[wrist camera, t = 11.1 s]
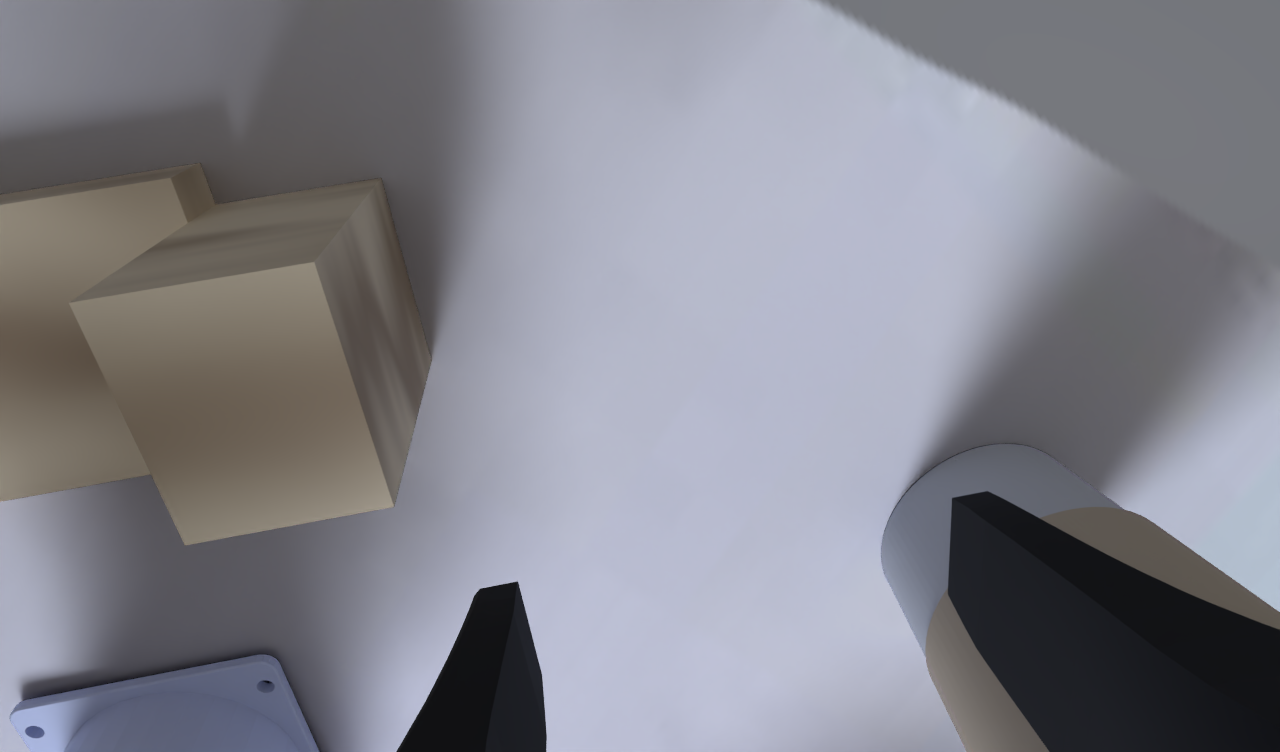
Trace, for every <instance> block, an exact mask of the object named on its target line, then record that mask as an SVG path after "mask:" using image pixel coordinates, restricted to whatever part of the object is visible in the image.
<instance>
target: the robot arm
mask: <svg viewBox="0 0 1280 752" xmlns="http://www.w3.org/2000/svg"><path fill="white" fill-rule="evenodd" d="M948 596H949V598H950V600H951V602H952V604H953V606H954V608H955V609H956V611H957V613H958V615H959V617H960V619H961V621H962V623H963V625H964V627H965V629H966V630H967V632H968V634H969V636H970V638H971V640H972V641H973V643H974V645H975V647H976V649H977V650H978V652H979V653H980V654H981V656H982V657H983V659H984V660H985V662H986V663H987V665H988V666H989V667H990V669H991V670H992V672H993V673H994V675H995V676H996V677H997V679H998V680H999V682H1000V683H1001V685H1002V686H1003V687H1004V689H1005V690H1006V692H1007V693H1008V694H1009V696H1010V697H1011V699H1012V700H1013V701H1014V703H1015V704H1016V706H1017V707H1018V708H1019V710H1020V711H1021V713H1022V714H1023V715H1024V717H1025V718H1026V720H1027V721H1028V722H1029V724H1030V725H1031V727H1032V728H1033V729H1034V731H1035V732H1036V734H1037V735H1038V736H1039V738H1040V739H1041V741H1042V742H1043V743H1044V745H1045V746H1046V748H1047V749H1048V750H1049V752H1280V629H1277V628H1274V627H1271V626H1268V625H1266V624H1263V623H1260V622H1258V621H1255V620H1253V619H1250V618H1248V617H1245V616H1243V615H1240V614H1237V613H1235V612H1232V611H1230V610H1227V609H1225V608H1222V607H1220V606H1217V605H1215V604H1212V603H1210V602H1207V601H1205V600H1203V599H1200V598H1198V597H1196V596H1193V595H1191V594H1189V593H1187V592H1184V591H1182V590H1180V589H1178V588H1176V587H1173V586H1171V585H1169V584H1167V583H1165V582H1163V581H1161V580H1158V579H1156V578H1154V577H1152V576H1150V575H1148V574H1146V573H1143V572H1141V571H1139V570H1137V569H1135V568H1133V567H1131V566H1129V565H1127V564H1125V563H1123V562H1121V561H1119V560H1117V559H1115V558H1113V557H1111V556H1109V555H1107V554H1105V553H1103V552H1102V551H1100V550H1098V549H1096V548H1094V547H1092V546H1090V545H1088V544H1086V543H1084V542H1083V541H1081V540H1079V539H1077V538H1075V537H1073V536H1071V535H1069V534H1068V533H1066V532H1064V531H1062V530H1060V529H1058V528H1057V527H1055V526H1053V525H1051V524H1049V523H1047V522H1046V521H1044V520H1042V519H1040V518H1038V517H1036V516H1035V515H1033V514H1031V513H1029V512H1027V511H1025V510H1024V509H1022V508H1020V507H1018V506H1016V505H1014V504H1012V503H1011V502H1009V501H1007V500H1005V499H1003V498H1001V497H999V496H997V495H995V494H993V493H991V492H989V491H985V492H980V493H974V494H969V495H964V496H959V497H954V498H952V509H951V531H950V553H949V575H948ZM263 680H268V681H270V682H272V683H266V682H263ZM10 721H11V723H12V725H13V726H14V727H15V729H16V730H17V732H18V733H19V735H20V736H21V738H22V739H23V741H24V742H25V744H26V745H27V747H28V748H29V750H30V751H31V752H319V750H318V747H317V745H316V743H315V741H314V739H313V736H312V734H311V732H310V730H309V727H308V725H307V723H306V721H305V719H304V716H303V714H302V712H301V710H300V707H299V705H298V703H297V701H296V699H295V696H294V694H293V692H292V690H291V687H290V685H289V683H288V681H287V679H286V676H285V674H284V672H283V670H282V667H281V665H280V663H279V662H278V661H277V659H275V658H274V657H272V656H269V655H265V654H264V655H254V656H249V657H244V658H239V659H234V660H229V661H223V662H218V663H213V664H208V665H203V666H198V667H193V668H187V669H182V670H177V671H172V672H167V673H162V674H157V675H151V676H146V677H141V678H136V679H131V680H126V681H121V682H116V683H110V684H105V685H100V686H95V687H90V688H85V689H80V690H74V691H69V692H64V693H59V694H54V695H49V696H44V697H38V698H33V699H28V700H24V701H22V702H20V703H19V704H17V705H16V707H15V708H14V710H13V711H12V712H11V714H10ZM37 726H38V727H37ZM40 727H41V728H40ZM397 752H546V722H545V708H544V695H543V682H542V674H541V670H540V666H539V662H538V658H537V654H536V650H535V646H534V642H533V639H532V635H531V631H530V627H529V623H528V619H527V615H526V611H525V607H524V604H523V600H522V596H521V592H520V588H519V584H518V582H513V583H508V584H503V585H497V586H492V587H487V588H482V589H480V590H479V591H478V592H477V593H476V595H475V596H474V598H473V601H472V604H471V606H470V609H469V611H468V614H467V616H466V618H465V621H464V623H463V626H462V628H461V630H460V632H459V635H458V637H457V639H456V641H455V643H454V646H453V648H452V650H451V652H450V654H449V656H448V658H447V660H446V662H445V664H444V666H443V668H442V670H441V672H440V674H439V676H438V678H437V680H436V682H435V684H434V686H433V688H432V690H431V692H430V694H429V696H428V698H427V700H426V702H425V703H424V705H423V707H422V709H421V710H420V712H419V714H418V716H417V717H416V719H415V721H414V723H413V724H412V726H411V728H410V729H409V731H408V733H407V735H406V736H405V738H404V740H403V742H402V743H401V745H400V747H399V748H398V750H397Z"/></svg>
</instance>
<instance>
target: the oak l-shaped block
mask: <svg viewBox="0 0 1280 752" xmlns="http://www.w3.org/2000/svg"><path fill="white" fill-rule="evenodd" d="M431 361H432V360H431V357H430V353H429V350H428V346H427V342H426V339H425V335H424V331H423V328H422V324H421V320H420V317H419V313H418V310H417V306H416V302H415V299H414V295H413V291H412V288H411V284H410V280H409V277H408V273H407V270H406V266H405V262H404V259H403V255H402V251H401V248H400V244H399V240H398V237H397V233H396V229H395V226H394V222H393V219H392V215H391V211H390V208H389V204H388V200H387V197H386V193H385V189H384V186H383V182H382V179H381V178H376V179H370V180H364V181H358V182H351V183H345V184H339V185H333V186H327V187H320V188H314V189H308V190H302V191H296V192H289V193H283V194H277V195H271V196H265V197H258V198H252V199H246V200H240V201H234V202H227V203H221V204H215V201H214V199H213V196H212V193H211V191H210V188H209V185H208V183H207V180H206V177H205V175H204V172H203V169H202V166H201V164H200V163H196V164H190V165H183V166H177V167H171V168H164V169H158V170H152V171H145V172H139V173H133V174H126V175H120V176H114V177H107V178H101V179H95V180H88V181H82V182H76V183H69V184H63V185H57V186H51V187H44V188H38V189H32V190H25V191H19V192H13V193H6V194H0V502H1V501H7V500H12V499H18V498H24V497H29V496H35V495H40V494H46V493H51V492H57V491H63V490H68V489H74V488H79V487H85V486H90V485H96V484H102V483H107V482H113V481H118V480H124V479H130V478H135V477H141V476H146V475H151V476H152V478H153V480H154V482H155V484H156V486H157V488H158V491H159V493H160V495H161V497H162V499H163V501H164V503H165V505H166V507H167V509H168V511H169V514H170V516H171V518H172V520H173V522H174V524H175V526H176V528H177V530H178V532H179V534H180V537H181V539H182V541H183V543H184V545H185V546H186V545H191V544H197V543H202V542H208V541H213V540H219V539H224V538H229V537H235V536H240V535H246V534H251V533H256V532H262V531H267V530H273V529H278V528H283V527H289V526H294V525H300V524H305V523H310V522H316V521H321V520H327V519H332V518H338V517H343V516H348V515H354V514H359V513H365V512H370V511H375V510H381V509H386V508H392V507H394V506H395V502H396V498H397V494H398V490H399V486H400V482H401V478H402V474H403V471H404V467H405V463H406V459H407V455H408V451H409V447H410V443H411V439H412V435H413V432H414V428H415V424H416V420H417V416H418V412H419V408H420V404H421V400H422V396H423V393H424V389H425V385H426V381H427V377H428V373H429V369H430V365H431Z"/></svg>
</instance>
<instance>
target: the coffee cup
mask: <svg viewBox="0 0 1280 752" xmlns="http://www.w3.org/2000/svg"><path fill="white" fill-rule="evenodd" d="M985 491H989V492H991V493H993V494H995V495H997V496H999V497H1001V498H1003V499H1005V500H1007V501H1009V502H1011V503H1012V504H1014V505H1016V506H1018V507H1020V508H1022V509H1024V510H1025V511H1027V512H1029V513H1031V514H1033V515H1035V516H1036V517H1038V518H1040V519H1042V520H1044V521H1046V522H1047V523H1049V524H1051V525H1053V526H1055V527H1057V528H1058V529H1060V530H1062V531H1064V532H1066V533H1068V534H1069V535H1071V536H1073V537H1075V538H1077V539H1079V540H1081V541H1083V542H1084V543H1086V544H1088V545H1090V546H1092V547H1094V548H1096V549H1098V550H1100V551H1102V552H1103V553H1105V554H1107V555H1109V556H1111V557H1113V558H1115V559H1117V560H1119V561H1121V562H1123V563H1125V564H1127V565H1129V566H1131V567H1133V568H1135V569H1137V570H1139V571H1141V572H1143V573H1146V574H1148V575H1150V576H1152V577H1154V578H1156V579H1158V580H1161V581H1163V582H1165V583H1167V584H1169V585H1171V586H1173V587H1176V588H1178V589H1180V590H1182V591H1184V592H1187V593H1189V594H1191V595H1193V596H1196V597H1198V598H1200V599H1203V600H1205V601H1207V602H1210V603H1212V604H1215V605H1217V606H1220V607H1222V608H1225V609H1227V610H1230V611H1232V612H1235V613H1237V614H1240V615H1243V616H1245V617H1248V618H1250V619H1253V620H1255V621H1258V622H1260V623H1263V624H1266V625H1268V626H1271V627H1274V628H1277V629H1280V612H1278V611H1277V610H1276V609H1274V608H1273V607H1271V606H1270V605H1269V604H1267V603H1266V602H1264V601H1263V600H1261V599H1260V598H1259V597H1257V596H1256V595H1254V594H1253V593H1252V592H1250V591H1249V590H1247V589H1246V588H1245V587H1243V586H1242V585H1240V584H1239V583H1237V582H1236V581H1235V580H1233V579H1232V578H1230V577H1229V576H1228V575H1226V574H1225V573H1223V572H1222V571H1221V570H1219V569H1218V568H1216V567H1215V566H1214V565H1212V564H1211V563H1209V562H1208V561H1206V560H1205V559H1204V558H1202V557H1201V556H1199V555H1198V554H1197V553H1195V552H1194V551H1192V550H1191V549H1190V548H1188V547H1187V546H1185V545H1184V544H1183V543H1181V542H1180V541H1178V540H1177V539H1175V538H1174V537H1173V536H1171V535H1170V534H1168V533H1167V532H1166V531H1164V530H1163V529H1161V528H1160V527H1159V526H1157V525H1156V524H1154V523H1153V522H1151V521H1150V520H1148V519H1147V518H1145V517H1143V516H1141V515H1138V514H1136V513H1133V512H1130V511H1127V510H1124V509H1123V508H1122V507H1120V506H1119V505H1117V504H1116V503H1115V502H1113V501H1112V500H1110V499H1109V498H1108V497H1106V496H1105V495H1104V494H1102V493H1101V492H1099V491H1098V490H1097V489H1095V488H1094V487H1092V486H1091V485H1090V484H1088V483H1087V482H1086V481H1084V480H1083V479H1081V478H1080V477H1079V476H1077V475H1076V474H1074V473H1073V472H1072V471H1070V470H1069V469H1068V468H1066V467H1065V466H1063V465H1062V464H1061V463H1059V462H1058V461H1056V460H1055V459H1054V458H1052V457H1051V456H1049V455H1048V454H1046V453H1044V452H1042V451H1040V450H1038V449H1035V448H1032V447H1029V446H1024V445H1018V444H994V445H987V446H982V447H978V448H974V449H971V450H968V451H965V452H963V453H960V454H958V455H956V456H954V457H951V458H949V459H948V460H946V461H944V462H942V463H941V464H939V465H937V466H936V467H934V468H933V469H932V470H930V471H929V472H928V473H926V474H925V475H924V476H923V477H921V478H920V479H919V480H918V481H917V482H916V483H915V484H914V485H913V486H912V487H911V488H910V489H909V490H908V491H907V492H906V494H905V495H904V496H903V497H902V499H901V500H900V502H899V503H898V504H897V506H896V508H895V509H894V511H893V513H892V515H891V517H890V519H889V521H888V523H887V526H886V529H885V532H884V536H883V540H882V547H881V560H882V566H883V571H884V574H885V576H886V579H887V581H888V583H889V585H890V587H891V589H892V591H893V593H894V595H895V597H896V599H897V601H898V603H899V605H900V607H901V609H902V611H903V613H904V615H905V617H906V619H907V621H908V623H909V625H910V627H911V629H912V631H913V633H914V635H915V637H916V639H917V641H918V643H919V645H920V647H921V649H922V651H923V653H924V655H925V657H926V663H927V667H928V671H929V674H930V676H931V679H932V681H933V683H934V685H935V687H936V689H937V691H938V693H939V695H940V697H941V699H942V701H943V703H944V705H945V707H946V710H947V712H948V714H949V716H950V718H951V720H952V722H953V724H954V726H955V728H956V730H957V732H958V734H959V736H960V738H961V741H962V743H963V745H964V747H965V749H966V751H967V752H1049V750H1048V749H1047V748H1046V746H1045V745H1044V743H1043V742H1042V741H1041V739H1040V738H1039V736H1038V735H1037V734H1036V732H1035V731H1034V729H1033V728H1032V727H1031V725H1030V724H1029V722H1028V721H1027V720H1026V718H1025V717H1024V715H1023V714H1022V713H1021V711H1020V710H1019V708H1018V707H1017V706H1016V704H1015V703H1014V701H1013V700H1012V699H1011V697H1010V696H1009V694H1008V693H1007V692H1006V690H1005V689H1004V687H1003V686H1002V685H1001V683H1000V682H999V680H998V679H997V677H996V676H995V675H994V673H993V672H992V670H991V669H990V667H989V666H988V665H987V663H986V662H985V660H984V659H983V657H982V656H981V654H980V653H979V652H978V650H977V649H976V647H975V645H974V643H973V641H972V640H971V638H970V636H969V634H968V632H967V630H966V629H965V627H964V625H963V623H962V621H961V619H960V617H959V615H958V613H957V611H956V609H955V608H954V606H953V604H952V602H951V600H950V598H949V596H948V575H949V553H950V531H951V509H952V498H954V497H959V496H964V495H969V494H974V493H980V492H985Z"/></svg>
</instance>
